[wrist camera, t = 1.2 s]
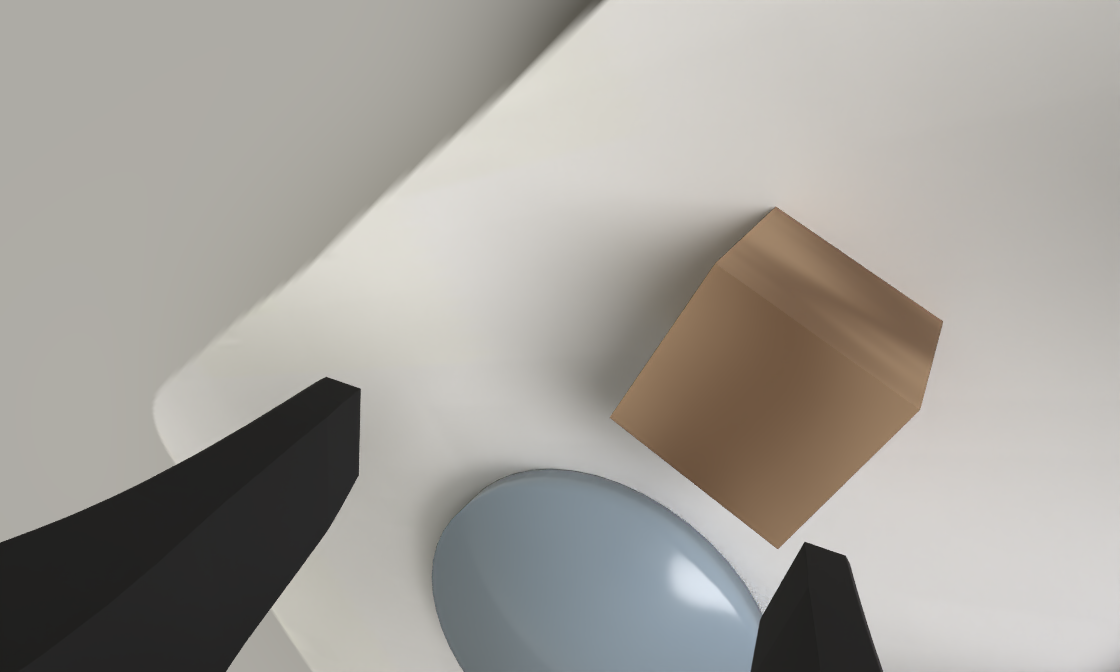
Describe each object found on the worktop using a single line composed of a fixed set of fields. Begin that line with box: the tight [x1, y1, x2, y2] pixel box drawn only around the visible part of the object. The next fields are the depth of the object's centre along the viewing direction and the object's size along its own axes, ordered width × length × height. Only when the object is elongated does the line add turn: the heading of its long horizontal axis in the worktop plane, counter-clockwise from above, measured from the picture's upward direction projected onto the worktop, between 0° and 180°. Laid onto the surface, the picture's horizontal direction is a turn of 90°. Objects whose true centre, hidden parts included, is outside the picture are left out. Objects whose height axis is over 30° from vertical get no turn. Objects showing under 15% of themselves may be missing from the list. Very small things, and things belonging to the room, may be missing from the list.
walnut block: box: [610, 207, 943, 549], centre depth 18 cm, size 4×4×4 cm
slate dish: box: [432, 469, 762, 672], centre depth 26 cm, size 12×12×1 cm
